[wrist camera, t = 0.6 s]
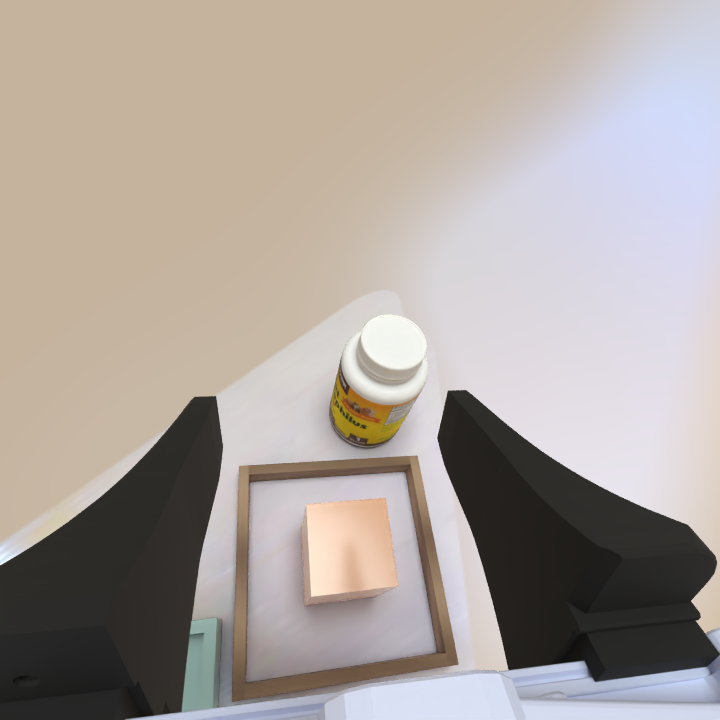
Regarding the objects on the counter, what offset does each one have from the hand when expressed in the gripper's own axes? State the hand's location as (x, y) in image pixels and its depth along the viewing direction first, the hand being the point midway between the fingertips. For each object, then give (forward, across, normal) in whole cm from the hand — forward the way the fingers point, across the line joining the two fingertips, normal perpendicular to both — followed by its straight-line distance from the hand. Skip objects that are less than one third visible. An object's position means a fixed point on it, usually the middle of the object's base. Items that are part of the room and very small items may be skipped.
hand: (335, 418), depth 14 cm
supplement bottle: (+15, -4, +13) cm, 20 cm away
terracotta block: (+6, -1, +17) cm, 18 cm away
